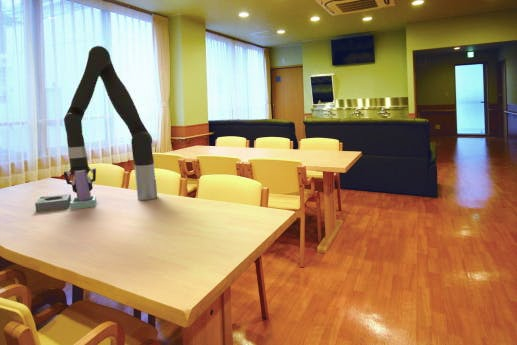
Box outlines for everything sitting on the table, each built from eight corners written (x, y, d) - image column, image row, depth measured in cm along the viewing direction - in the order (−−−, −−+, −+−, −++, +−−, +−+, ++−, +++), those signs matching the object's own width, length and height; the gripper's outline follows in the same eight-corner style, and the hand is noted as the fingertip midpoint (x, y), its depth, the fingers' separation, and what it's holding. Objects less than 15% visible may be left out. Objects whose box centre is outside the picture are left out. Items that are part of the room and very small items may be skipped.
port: (71, 201, 181) (70, 192, 181) (68, 208, 170) (67, 198, 169) (41, 205, 177) (40, 196, 176) (36, 212, 165) (34, 202, 164)
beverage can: (86, 202, 170) (81, 170, 167) (74, 202, 171) (70, 171, 168) (94, 199, 176) (89, 168, 173) (83, 199, 177) (78, 168, 174)
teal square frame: (96, 201, 181) (95, 195, 180) (95, 206, 171) (94, 200, 171) (73, 203, 177) (72, 197, 176) (70, 209, 167) (69, 203, 167)
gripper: (95, 153, 175) (99, 187, 179) (61, 156, 170) (67, 191, 174) (94, 155, 169) (99, 191, 172) (59, 158, 164) (65, 195, 167)
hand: (83, 191), depth 173 cm, fingers closed on beverage can, 5 cm apart
